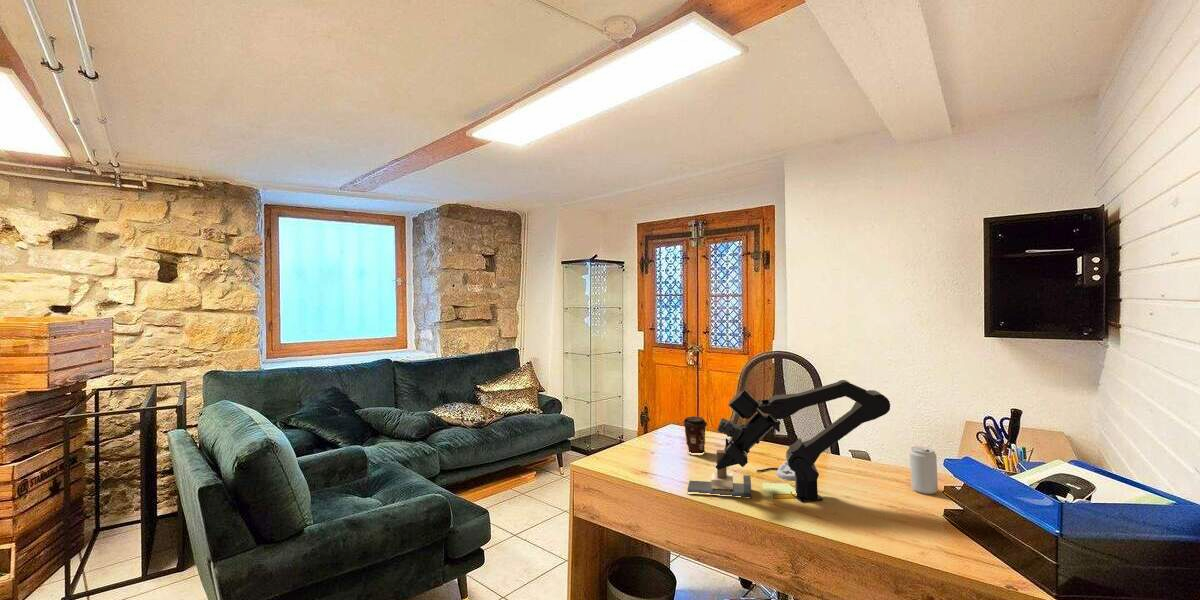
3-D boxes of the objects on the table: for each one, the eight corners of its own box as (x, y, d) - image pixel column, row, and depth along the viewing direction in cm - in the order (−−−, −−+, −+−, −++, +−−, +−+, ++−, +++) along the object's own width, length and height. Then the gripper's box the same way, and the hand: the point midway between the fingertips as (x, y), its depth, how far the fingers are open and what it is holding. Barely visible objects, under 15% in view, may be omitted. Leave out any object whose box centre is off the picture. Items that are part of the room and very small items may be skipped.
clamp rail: (750, 489, 148) (750, 475, 148) (751, 498, 141) (751, 484, 141) (689, 485, 153) (689, 472, 153) (687, 494, 146) (687, 480, 146)
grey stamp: (733, 481, 149) (731, 448, 149) (732, 489, 143) (731, 455, 143) (712, 480, 150) (711, 447, 150) (711, 488, 145) (710, 454, 145)
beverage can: (925, 496, 138) (924, 453, 138) (905, 488, 144) (904, 447, 144) (943, 493, 139) (941, 450, 139) (923, 485, 146) (921, 444, 146)
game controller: (796, 482, 153) (796, 476, 153) (754, 476, 159) (754, 470, 159) (805, 467, 165) (805, 462, 165) (766, 462, 172) (765, 456, 172)
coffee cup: (679, 454, 183) (678, 418, 183) (692, 448, 189) (691, 414, 189) (699, 458, 177) (698, 422, 177) (712, 453, 183) (710, 417, 183)
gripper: (733, 403, 155) (698, 437, 158) (733, 417, 137) (694, 456, 140) (760, 429, 153) (725, 463, 155) (764, 447, 135) (724, 485, 137)
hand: (717, 466), depth 147 cm, fingers open, 4 cm apart
